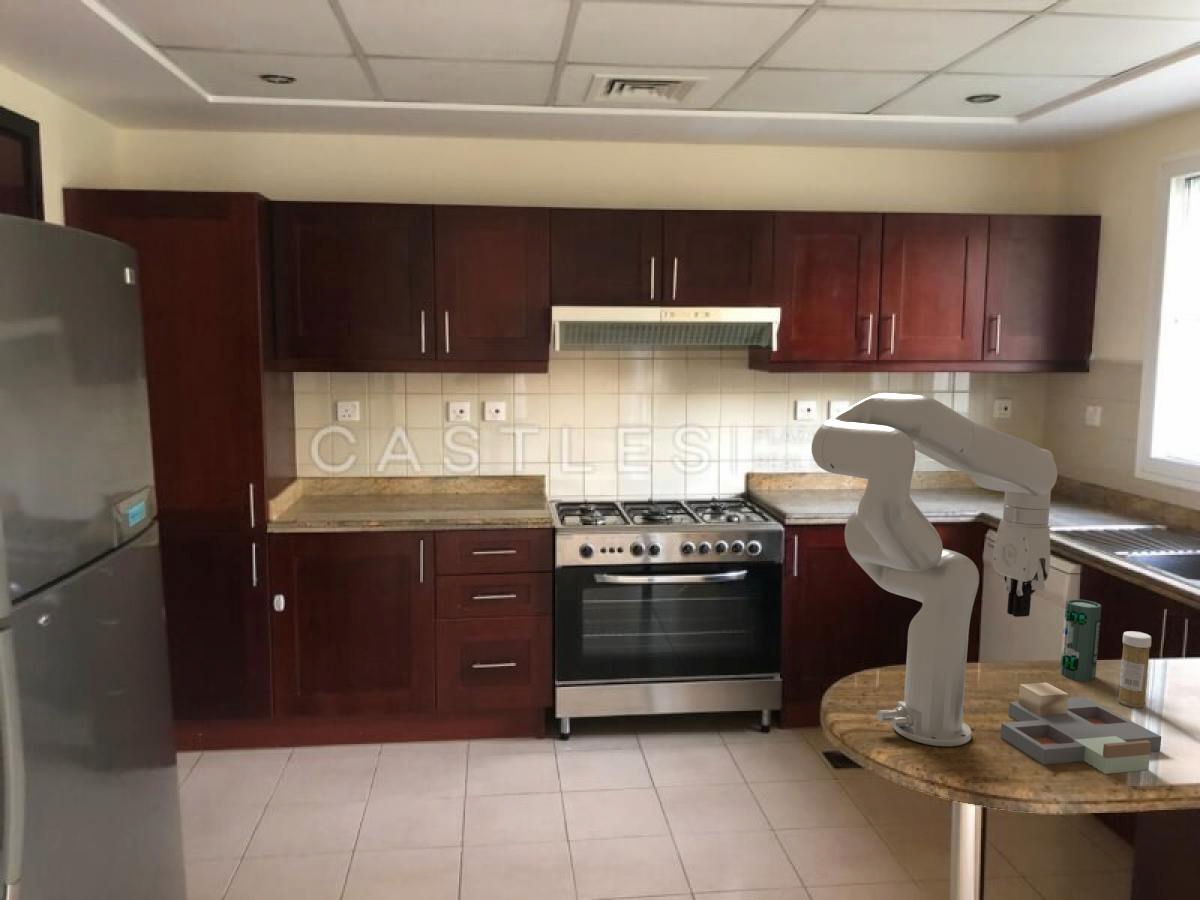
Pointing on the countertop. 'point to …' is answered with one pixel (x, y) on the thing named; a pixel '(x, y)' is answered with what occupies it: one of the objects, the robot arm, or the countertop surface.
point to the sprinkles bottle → (1134, 669)
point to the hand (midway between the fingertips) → (1018, 614)
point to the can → (1080, 639)
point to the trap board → (1081, 737)
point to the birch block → (1043, 698)
